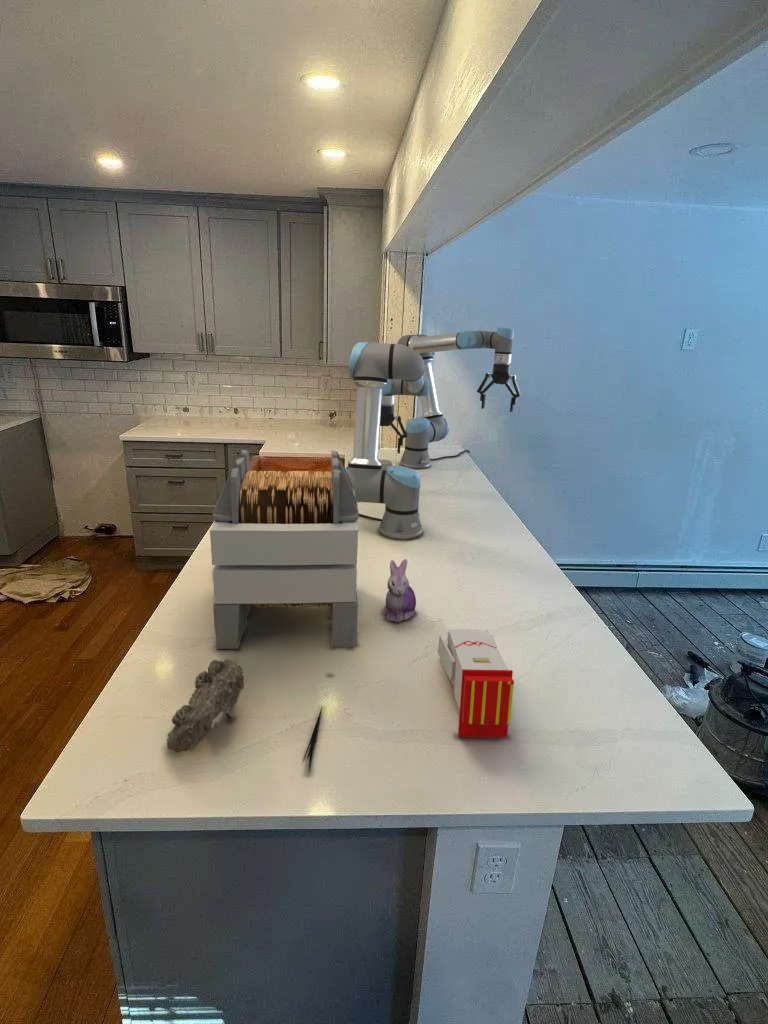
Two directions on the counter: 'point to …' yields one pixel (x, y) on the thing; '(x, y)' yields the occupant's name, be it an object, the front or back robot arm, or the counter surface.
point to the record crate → (285, 547)
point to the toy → (478, 682)
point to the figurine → (399, 594)
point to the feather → (313, 740)
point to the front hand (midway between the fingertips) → (383, 452)
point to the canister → (385, 464)
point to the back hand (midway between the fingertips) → (496, 410)
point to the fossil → (206, 705)
